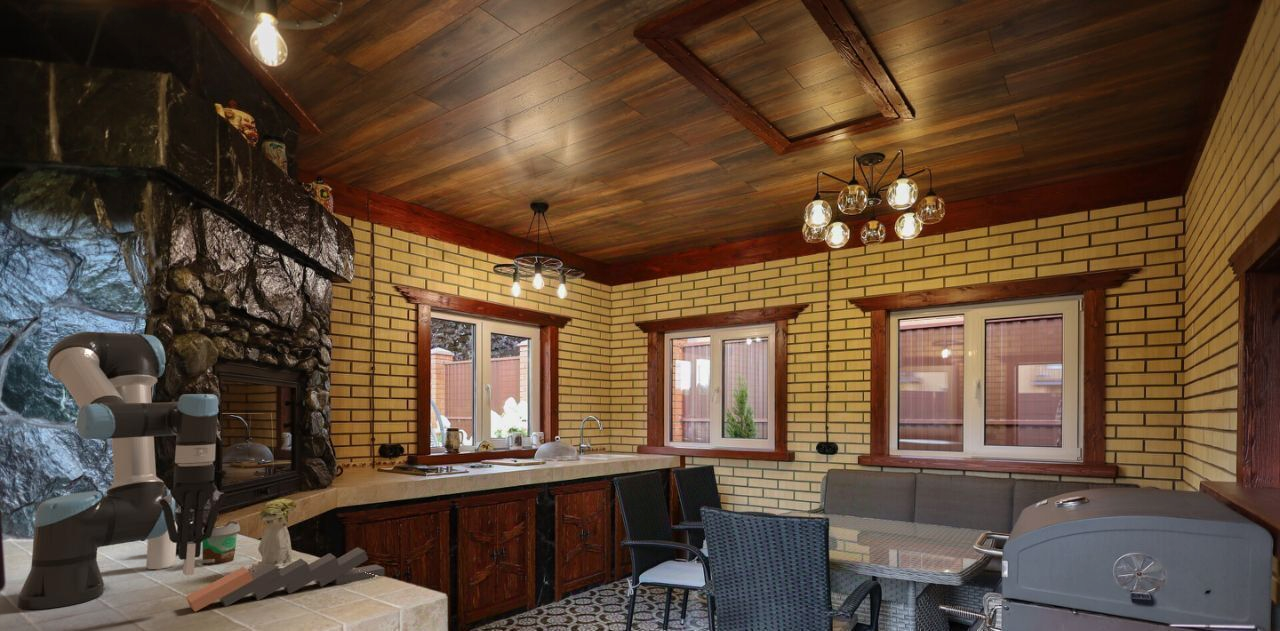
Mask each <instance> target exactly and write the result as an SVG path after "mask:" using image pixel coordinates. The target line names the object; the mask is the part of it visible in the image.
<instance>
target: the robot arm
mask: <svg viewBox="0 0 1280 631" xmlns="http://www.w3.org/2000/svg"><path fill="white" fill-rule="evenodd" d="M166 362H167V361H166V351H165V348H164V346H163V344H162V342H161V341H160V339H159V338H157V337H156V336H155V335H152V334H143V333H142V334H141V333H137V332H134V333H129V332H128V333H127V332H126V333H124V332H105V331H104V332H103V331H102V332H101V331H80V332H77V333H73V334H70V335H68V336H65V337H64V338H62V339H61V340H59V341H58V342H57V343H56V344H55V345H54V346H53V347H52V348H51V349H50V351H49V352H48V354H47V359H46V366H47V369H48V371H49V373H50V375H51V376H52V377H53V378H54V379H55V380H56V381H58V382H59V383H63V386H65V388H66V390H67V391H68V392H69V394H70V396H72V399H73V400H74V402H75V403H76V405H77V406H78V408H79V410H78V413H77V417H76V429H77V434H78V436H79V437H80V438H82V439H84V440H99V441H102V440H103V441H104V440H110V439H111V440H112V443H111V444H112V460H113V461H112V467H113V483H112V484H111V485H110V486H109V487H108V488H107V489H106V496H103V495H102V492H100V491H96V490H95V491H93V490H91V491H85V492H76V493H70V494H66V495H61V496H56V497H53V498H50V499H47V500H45V501H43V502H41V503H40V504H39V506H38V507H37V509H36V512H35V518H34V522H33V527H34V528H33V529H34V530H33V543H32V552H31V553H32V555H31V565H30V566H31V567H30V571H29V573H28V576H26V579H25V581H24V583H23V586H22V588H21V590H20V592H19V595H18V599H17V607H18V608H20V609H24V610H25V609H26V610H40V609H41V610H43V609H52V608H54V609H55V608H61V607H66V606H67V607H68V606H71V605H76V604H81V603H85V602H89V601H91V600H94V599H97V598H99V597H101V596H102V595H103V594H104V589H105V587H104V586H105V583H104V579H103V576H102V572H101V571H100V566H99V565H98V560H97V558H98V557H97V555H98V548H102V547H107V546H115V545H121V544H126V543H127V544H128V543H132V542H133V543H134V542H145V541H148V539H152V538H157V537H160V536H162V535H163V534H165V533H166V531H167V530H168V535H169V539H170V541H172V542H173V543H179V555H178V558H179V560H180V561H183V569H182V574H184V575H185V576H190V575H194V574H195V562H196V561H195V560H196V558H200V556H201V549H202V541H203V540H205V539H207V538H210V537H211V535H212V532H213V528H214V527H215V525H216V521H217V519H218V516H219V512H220V510H221V505H222V504H223V503H224V501H225V499H226V498H227V493H224V492H220V491H219V490H217V487H216V485H215V483H214V482H215V465H214V463H213V462H215V461H216V444H217V430H218V429H217V428H218V415H219V412H220V411H219V398H218V396H217V395H215V393H198V394H197V393H196V394H195V393H194V394H193V393H189V394H188V393H187V394H184V393H183V394H182V395H180V396H179V398H178V401H169V402H152V389H151V388H152V387H153V386H154V385H155V384H157V382H158V378H160V377H161V376H163V374H164V371H165V368H166V366H165V364H166ZM166 436H167V437H168V436H176V439H175V440H176V442H175V454H174V455H175V456H174V463H175V464H177V465H175V467H174V469H173V470H174V471H173V483H172V485H173V486H172V488H171V489H168V488H166V489H165V482H164V481H163V479H160V478H159V477H158V476H157V469H156V454H155V438H154V437H166ZM211 497H212V500H213V501H212V503H211V506H210V510H209V512H208V515H207V518H206V522H205V525H204V524H203V523H204V522H203V521H204V510H205V505H206V504H207V502H208V501H209V500H210V498H211ZM176 503H177V504H178V505H179V506H180V511H181V518H180V534H179V537H178V535H177V530H176V526H175V521H174V520H175V512H176V511H175V510H176ZM191 508H193V510H194V527H193V542H188V533H189V518H190V510H192V509H191ZM203 526H204V527H203ZM202 529H204V531H203V533H202Z"/></svg>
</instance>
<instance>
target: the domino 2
mask: <svg viewBox="0 0 1280 631" xmlns="http://www.w3.org/2000/svg"><path fill="white" fill-rule="evenodd" d="M279 570H280V569H278V567H276V566H275V565H273V564H271V563H270V564H268V565H266V566H264V567H262V568H260V569H258V570H257V571H255V572H253V573H250V574H251V576H252V578H253V581H251V582H249V583H247V584H246V585H244V586H242V587H240V588H238V589H236V590H235V591H233V592H231V593H229V594H227V595H225V596H223V597H222V598H220V599H218V601H219V602H220V601H221V602H222V603H223V604H224V605H225V606H224V605H223V604H222V603H221V602H220V603H221V604H222V605H223V606H224V607H228V606H230V605H231V604H234V603H235V602H237V601H238V600H239V601H240V600H241V599H243V598H245V597H246V596H248V595H249V594H252V592H254V591H255V590H257V589H259V588H261V587H263V586H264V585H266V584H268V583H270V582H272V581H273V580H275V579H277V578H279V577H281V575H280V572H279Z"/></svg>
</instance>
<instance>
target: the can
mask: <svg viewBox="0 0 1280 631" xmlns="http://www.w3.org/2000/svg"><path fill="white" fill-rule="evenodd" d="M174 521H175V526H176V530H177V524H176V519H174ZM176 556H177V555H176V543H173V542H172V541H170V539H169V535H168V530H167V531H166V533H165V534H163V535H162V536H160V537H157V538H152V539H147V550H146V564H145V566H146V569H147V568H148V569H161V570H164V569H163V568H167V569H169V568H168V567H170V568H172V567H171V566H173V565H174V566H175V565H176ZM174 566H173V567H174ZM148 569H147V570H148Z"/></svg>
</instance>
